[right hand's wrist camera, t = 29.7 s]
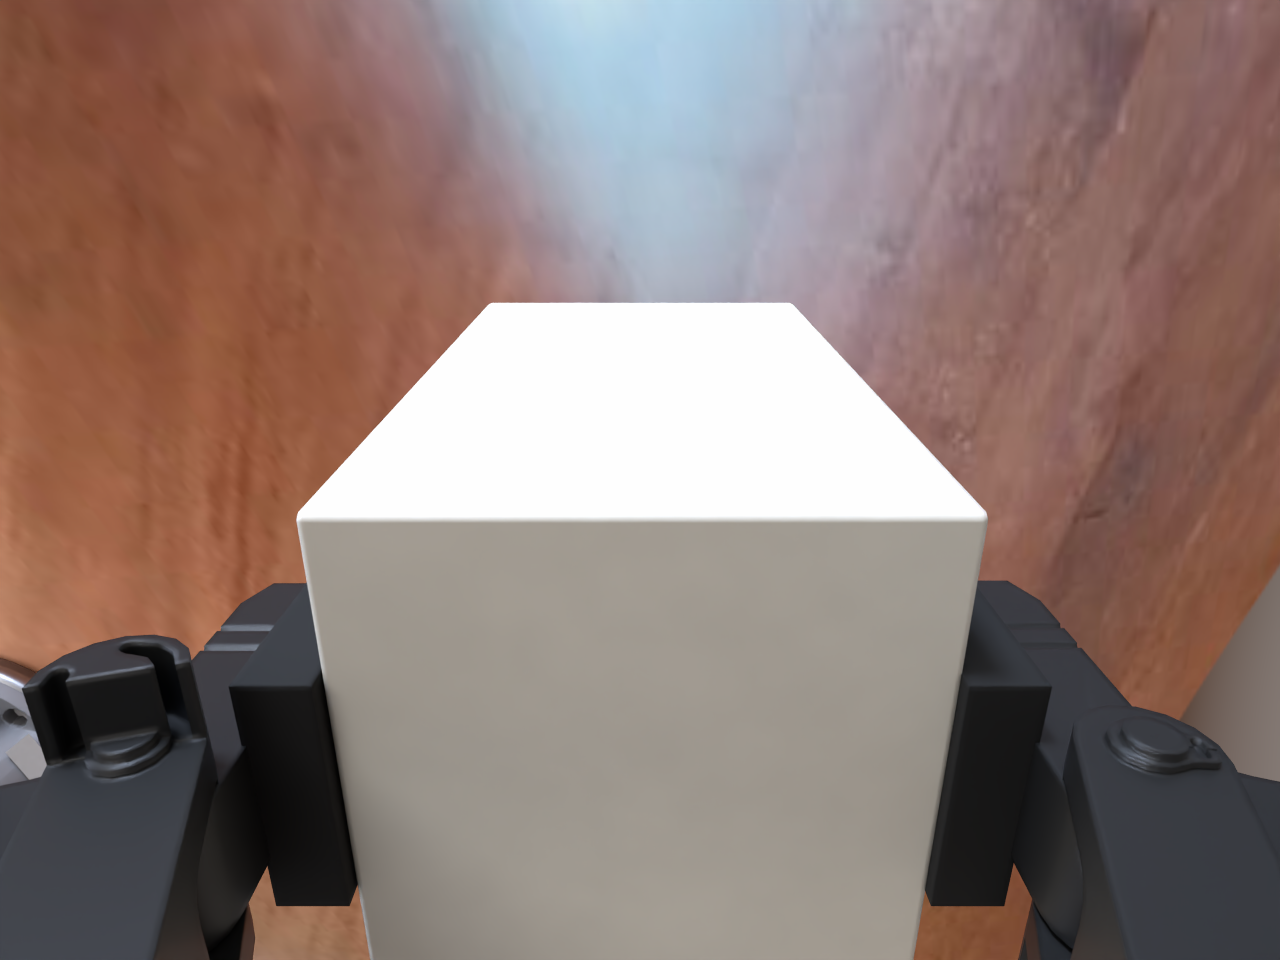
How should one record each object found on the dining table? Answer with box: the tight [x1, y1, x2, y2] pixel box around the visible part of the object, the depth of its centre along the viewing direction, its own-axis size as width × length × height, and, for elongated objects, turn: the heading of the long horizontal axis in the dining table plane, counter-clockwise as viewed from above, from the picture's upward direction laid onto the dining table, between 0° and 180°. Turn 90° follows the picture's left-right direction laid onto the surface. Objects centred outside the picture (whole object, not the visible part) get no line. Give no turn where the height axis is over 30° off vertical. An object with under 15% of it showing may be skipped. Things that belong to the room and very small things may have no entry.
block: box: [297, 303, 988, 960], centre depth 13 cm, size 6×6×10 cm
